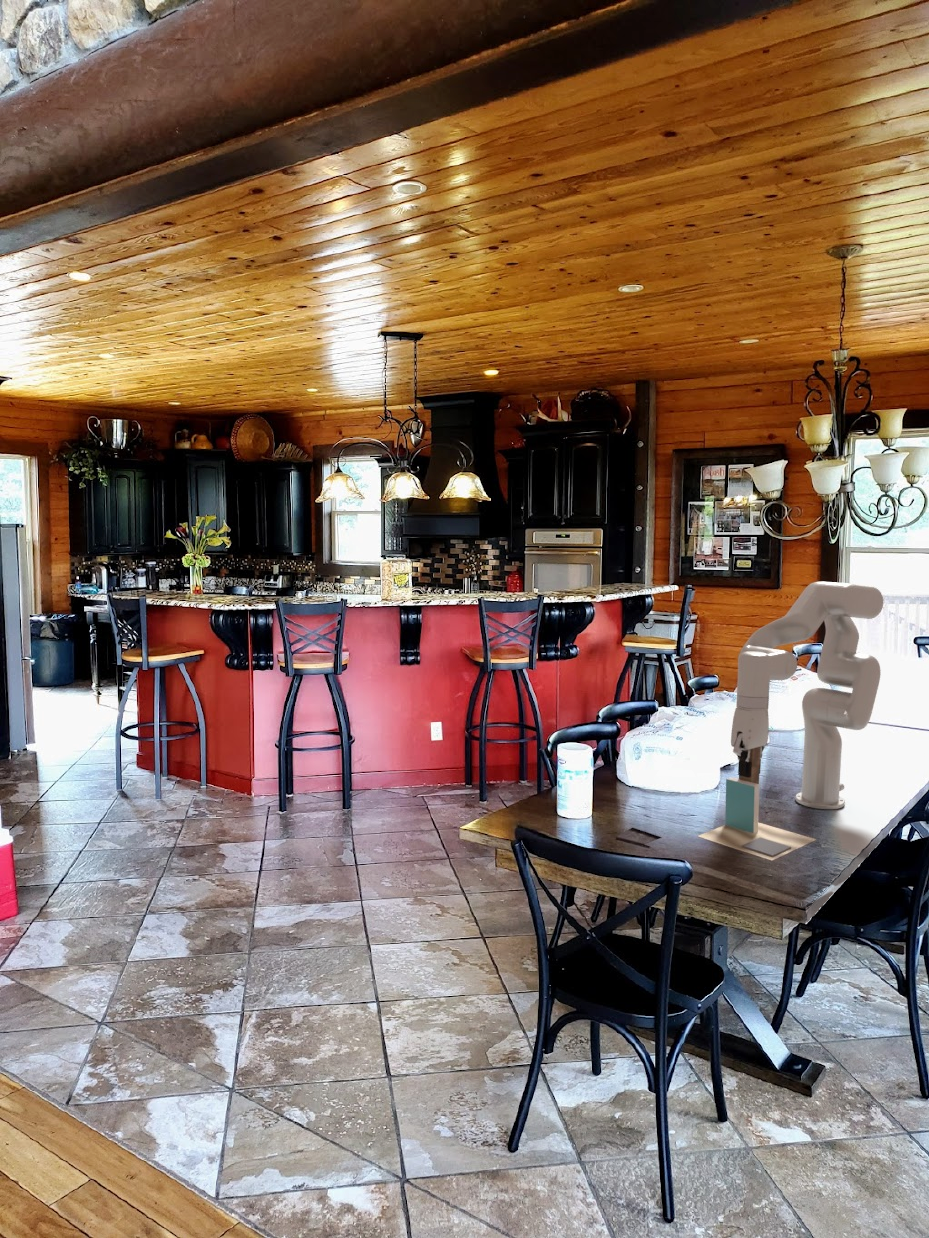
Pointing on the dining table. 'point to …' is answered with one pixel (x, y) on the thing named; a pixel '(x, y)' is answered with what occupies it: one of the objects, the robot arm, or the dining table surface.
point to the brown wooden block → (753, 766)
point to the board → (739, 837)
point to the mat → (766, 847)
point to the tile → (742, 805)
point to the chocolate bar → (637, 837)
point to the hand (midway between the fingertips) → (749, 773)
